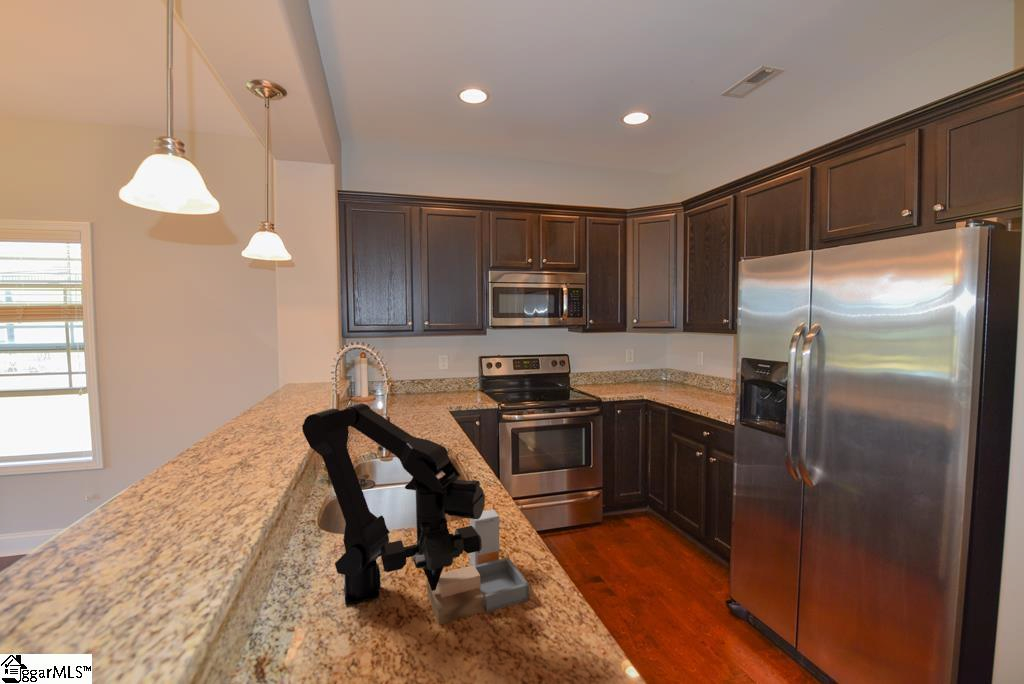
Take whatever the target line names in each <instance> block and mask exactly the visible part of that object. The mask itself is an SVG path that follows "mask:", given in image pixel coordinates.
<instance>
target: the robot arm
mask: <svg viewBox="0 0 1024 684" xmlns="http://www.w3.org/2000/svg"><path fill="white" fill-rule="evenodd" d="M301 427H302V428H301V429H302V433H303V435H304V438H305V440H306V441H307V444H308V445H309V447H310V448H311V449H312V450H313V451H315V452H316V453H317V454H318V455H319V456H321V457H322V460H323V463H324V465H325V469H326V471H327V473H328V477H329V480H330V482H331V486H332V488H333V491H334V493H335V496H336V499H337V501H338V504H339V507H340V510H341V513H342V516H343V518H344V522H345V528H344V533H343V545H344V550H345V552H344V554H342V555H341V556H340V558H338V559H337V561H335V562H334V567H335V569H336V573H337V574H338V575H339V574H340V575H344V586H343V591H344V593H343V594H344V603H345V604H344V605H345V606H350V605H353V604H358V603H361V602H365V601H369V600H373V599H377V598H379V597H380V592H379V590H380V589H381V569H380V565H379V563H377V559H378V558H379V557H381V558H380V559H381V563H382V568H383V571H384V572H386V573H391V572H394V571H400V570H402V569H404V567H406V565H407V558H412V561H413V565H414V567H415V568H416V569H422V571H423V572H424V574H425V576H426V578H427V579H426V580H428V582H429V585H430V588H431V590H432V591H434V590H436V587H437V584H438V581H439V578H440V575H441V573H443V572H442V571H443V570H444V568H448V567H451V566H452V565H453V564H454V559H455V558H458V557H461V555H462V554H463V553H464V552H465V553H466V554H467V555H468V554H470V553H472V552H477V551H480V550H481V549H482V541H481V537H480V535H479V534H478V532H477V531H476V530H475V528H474V527H473V526H470V525H468V526H463V527H459V528H455V530H454V533H450V530H449V529H448V520H447V516H449V517H457V518H458V517H459V518H463V519H469V520H470V519H479V518H480V517H481V515H482V512H483V511H484V508H485V503H486V502H485V501H486V494H485V493H484V490H483V488H482V487H481V483H480V481H479V480H474V479H472V480H464V479H459V478H460V477H461V474H460V472H459V471H458V469H457V467H456V466H455V464H454V463H453V462H452V460H451V459H450V457H449V451H448V450H447V449H446V448H445V447H444V446H442V445H441V444H439V443H436V442H434V441H431V440H429V439H424V438H419V437H415V436H413V435H412V434H410V433H409V432H407V431H406V430H404V429H403V428H400V427H399V426H397V425H396V424H394V423H393V422H392V421H389V420H388V419H387V418H385V417H384V416H383V415H381V414H379V413H378V412H376V411H374V410H373V409H371V407H370V406H369V405H368V404H366V403H358V404H354V405H351V406H348V407H345V409H341V410H339V409H338V408H330V409H326V410H322V411H318V412H316V413H312V414H309V415H308V416H306V418H305V419H304V421H303V424H302V425H301ZM349 427H352V428H353V429H355V430H357V431H358V432H360V433H361V434H362V435H364V436H365V437H367V438H368V439H370V440H371V441H373V442H374V443H376V444H378V445H379V446H380V447H382V448H383V449H385V450H387V451H388V452H389V453H391V454H392V455H393V456H395V457H396V458H397V459H398V460H399V461H400V464H401V466H402V468H403V470H404V471H406V473H408V475H410V476H411V477H412V478H411V480H410V481H409V482H408V483H407V484H406V485H404V488H405V489H406V490H409V491H410V490H411V491H414V492H415V516H416V517H415V519H416V520H415V521H416V523H415V524H416V526H415V527H416V544H411V545H406V546H404V543H403V540H402V539H401V540H395V541H391V542H390V538H389V534H390V533H391V532H390V530H389V528H388V527H387V524H386V521H385V517H384V516H383V515H380V516H378V517H377V516H376V515H375V514H373V513H372V512H371V511H370V508H369V506H368V503H367V500H366V497H365V495H364V492H363V489H362V486H361V484H360V481H359V477H358V476H357V472H356V470H355V469H356V468H355V466H354V464H353V461H352V458H351V455H350V453H349V450H348V440H349V433H350V431H349ZM442 473H443V474H444V475H443V476H441V477H440V478H438V476H439V475H441V474H442Z"/></svg>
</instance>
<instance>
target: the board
mask: <svg viewBox="0 0 1024 684" xmlns="http://www.w3.org/2000/svg"><path fill="white" fill-rule="evenodd" d="M426 594H427V597H428V599H429V602H430V605H431V608H432V611H433V614H434V616H435V618H436V619H435V620H436V621H437V625H438V626H439V625H443V624H447V623H450V622H454V621H457V620H461V619H465V618H468V617H471V616H473V615H478V614H481V613H483V612H485V609H484V596H483V594H482V592H481V590H480V589H479V588H477V589H473V590H469V591H466V592H462V593H458V594H454V595H451V596H447V597H443V598H441V596H440V594H439V591H438V589H437V587H436V590H434V591H432V590H431V588H430V585H429V582H428V579H426ZM477 613H478V614H477Z"/></svg>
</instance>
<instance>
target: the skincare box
mask: <svg viewBox="0 0 1024 684" xmlns="http://www.w3.org/2000/svg"><path fill="white" fill-rule="evenodd" d="M469 526H473V527H474V528H475V530H476V531H477V532H478V534H479V535H480V537H481V541H482V549H481V550H480V551H477V552H472V553H469V564H470V566H472V565H474V566H475V565H479V564H483V563H487V562H491V561H495V560H499V559H500V515H499V514H498V513H497V511H495V510H494V508H492V509H488V510H483V512H482V515H481V517H480V518H479V519H470V518H469Z"/></svg>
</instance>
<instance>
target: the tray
mask: <svg viewBox="0 0 1024 684" xmlns="http://www.w3.org/2000/svg"><path fill="white" fill-rule="evenodd" d="M475 568H476V569H477V571H478V573H479V574H480V588H479V589H480V590H481V592H482V594H483V596H484V612H486V613H490V611H491V612H493V611H497V610H500V608H501V609H504V608H507V607H511V606H514V605H518V604H520V603H523V602H527V601H530V583H529V582H528V581H527V580H526V578H525V577H524V576H523V575H522V573H521V571H520V570H519V569H518V568H517V566H516V565H515V564H514V563H513V562H512V560H511V559H510V558H509V557H504V558H499V560H495V561H491V562H487V563H483V564H479V565H475Z"/></svg>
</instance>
